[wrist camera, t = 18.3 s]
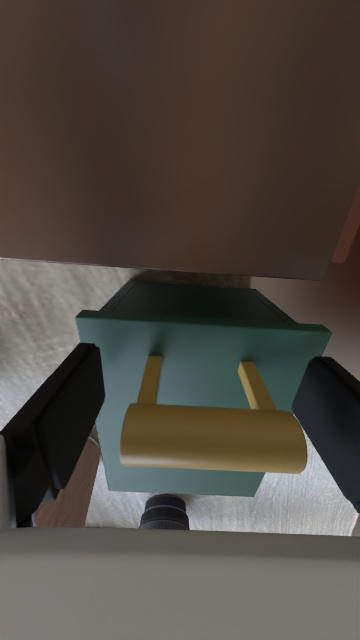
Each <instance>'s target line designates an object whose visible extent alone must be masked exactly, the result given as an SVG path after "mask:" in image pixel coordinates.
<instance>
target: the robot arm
mask: <svg viewBox="0 0 360 640" xmlns="http://www.w3.org/2000/svg"><path fill="white" fill-rule="evenodd" d="M104 400H105V387H104V378H103V370H102V361H101V352H100V348H99V347H96V345H95V343H83V342H81V343H79V344H78V345H77V346H76V347H75V349H74V350H73V351H72V352H71V353H70V354H69V355H68V357H67V358H66V359H65V360H64V361H63V362H62V363H61V364H60V366H59V367H58V368H57V369H56V370H55V371H54V372H53V374H51V375H50V376H49V377H48V378H47V380H46V381H45V382H44V383H43V384H42V385H41V386H40V388H39V389H38V390H37V391H36V392H35V393H34V394H33V395H32V397H31V398H30V399H29V400H28V401H27V402H26V403H25V404H24V406H23V407H22V408H21V409H20V410H19V411H18V412H17V413H16V415H15V416H14V417H13V418H12V419H11V420H10V421H9V423H8V424H7V425H6V426H5V427H4V428H3V429H2V430H1V432H0V640H360V537H354V536H332V535H306V534H280V533H253V532H226V531H197V530H165V529H134V528H94V527H36V522H35V514H34V512H36V511H37V510H38V508H39V506H40V504H41V502H42V500H44V501H55V500H56V498H57V496H58V494H59V491H60V489H65V488H66V486H67V484H68V482H69V480H70V478H71V476H72V473H73V471H74V469H75V467H76V464H77V462H78V460H79V458H80V455H81V453H82V451H83V448H84V446H85V444H86V442H87V439H88V437H89V435H90V433H91V430H92V428H93V426H94V424H95V421H96V419H97V417H98V414H99V412H100V410H101V408H102V405H103V403H104ZM292 410H293V413H294V414H295V416H296V418H297V419H298V421H299V423H300V424H301V426H302V427H303V429H304V431H305V432H306V434H307V436H308V437H309V439H310V441H311V442H312V444H313V446H314V447H315V449H316V450H317V452H318V454H319V455H320V457H321V459H322V460H323V462H324V464H325V465H326V467H327V469H328V470H329V472H330V473H331V475H332V477H333V478H334V480H335V482H336V483H337V485H338V487H339V488H340V490H341V492H342V493H343V495H344V496H345V497H346V498H347V499H348V500H349V501H351V503H352V505H353V506H354V508H355V509H356V511H357V513H360V381H358V380H357V379H356V378H355V377H354V376H353V375H351V374H350V373H349V372H348V371H347V370H346V369H344V368H343V367H342V366H341V365H340V364H338V362H336V361H335V360H334V359H333V358H331V357H322V356H316V357H314V358H313V359H311V360H310V361H309V363H308V365H307V368H306V370H305V373H304V375H303V378H302V380H301V383H300V385H299V388H298V390H297V393H296V395H295V398H294V400H293V403H292Z"/></svg>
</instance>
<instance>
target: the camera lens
mask: <svg viewBox="0 0 360 640" xmlns="http://www.w3.org/2000/svg"><path fill="white" fill-rule="evenodd" d="M139 529H165V530H190V529H189V519H188V516H187V514H186V505H185V503H184V501H183V500H181V499H180V498H178V497H175V496H170V495H158V496H155V497H152V498H150V499H149V500H148V501H147V502H146V506H145V512H144V513H143V515H142V517H141V523H140V527H139Z"/></svg>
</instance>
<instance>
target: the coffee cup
mask: <svg viewBox="0 0 360 640" xmlns="http://www.w3.org/2000/svg"><path fill="white" fill-rule="evenodd" d="M99 457H100V447H99V445H98V443H97V442H96V441H95V440H94V439H93V438H92V437H90V436H89V437H88V439H87V442H86V444H85V446H84V448H83V451H82V453H81V455H80V458H79V460H78V462H77V464H76V467H75V469H74V471H73V473H72V476H71V478H70V480H69V482H68V484H67V486H66V488H65V489H60V491H59V494H58V496H57V498H56V500H55V501H44V500H42V502H41V504H40V506H39V508H38V510H37V511H36V512H34V514H35V522H36V527H84V524H85V520H86V516H87V512H88V508H89V503H90V499H91V495H92V490H93V486H94V482H95V478H96V474H97V469H98V465H99Z"/></svg>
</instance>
